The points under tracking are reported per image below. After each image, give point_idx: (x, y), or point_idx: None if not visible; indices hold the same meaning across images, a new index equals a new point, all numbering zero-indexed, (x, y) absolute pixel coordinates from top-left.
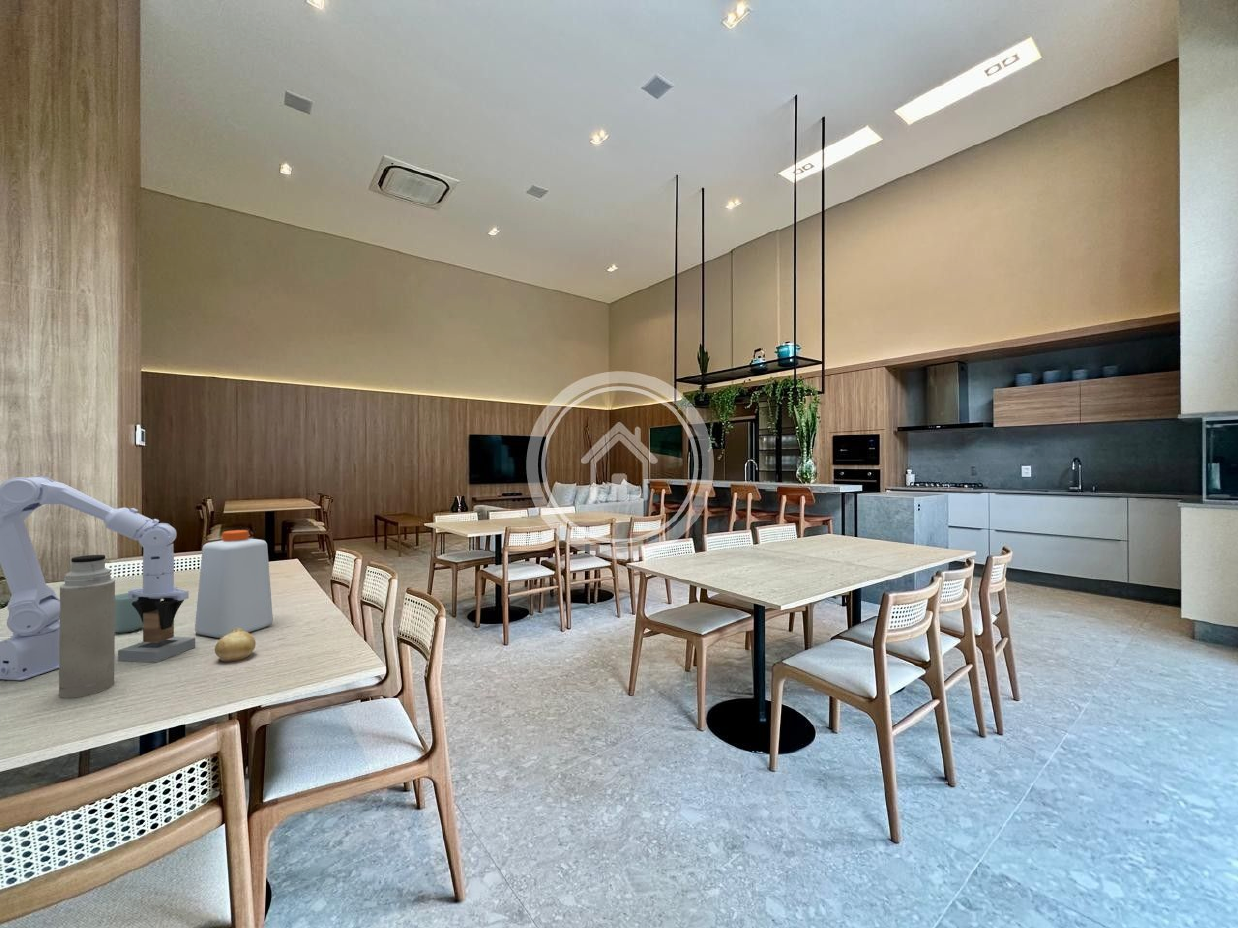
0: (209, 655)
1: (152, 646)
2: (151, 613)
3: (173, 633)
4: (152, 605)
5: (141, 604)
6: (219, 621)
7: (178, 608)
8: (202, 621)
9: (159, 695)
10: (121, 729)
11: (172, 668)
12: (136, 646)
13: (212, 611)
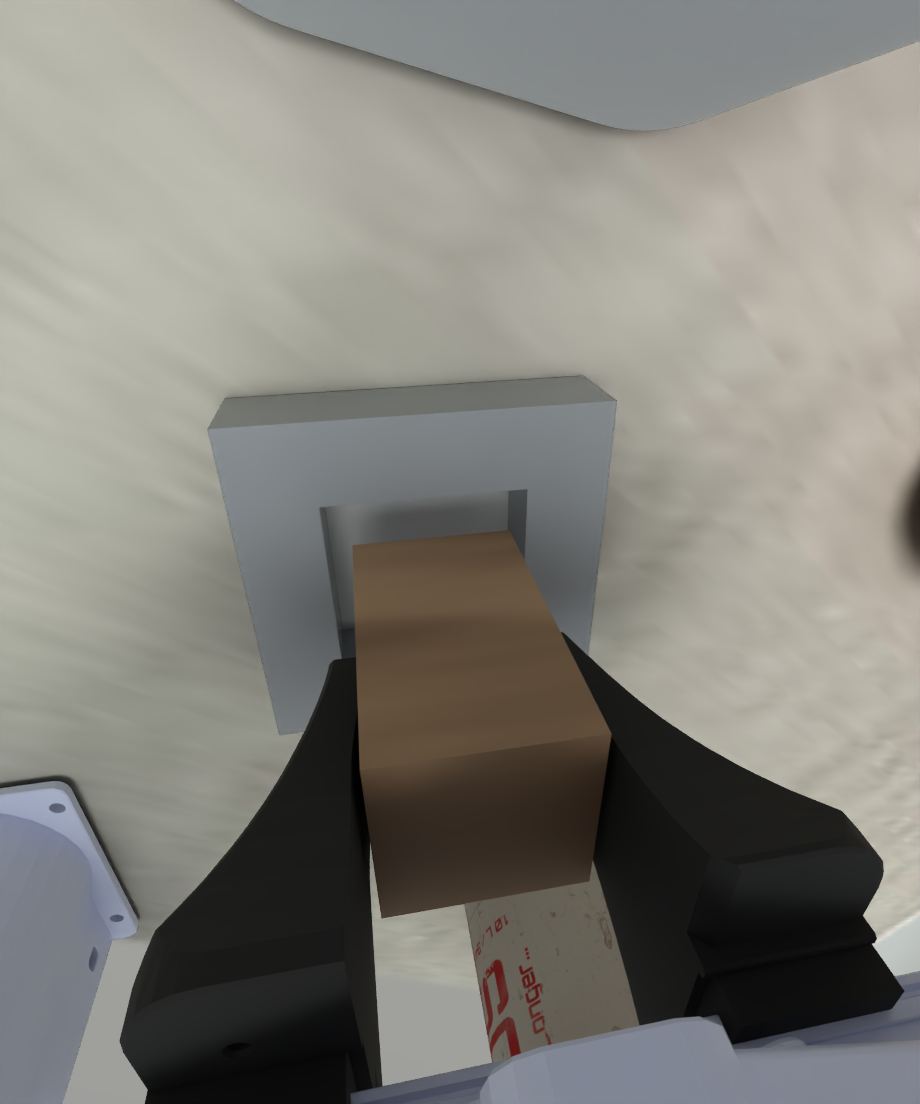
0: (806, 488)
1: (327, 541)
2: (492, 893)
3: (515, 549)
4: (363, 917)
5: (380, 1074)
6: (755, 95)
7: (713, 752)
8: (391, 10)
9: (859, 822)
10: (888, 929)
11: (723, 671)
12: (323, 661)
13: (686, 19)
